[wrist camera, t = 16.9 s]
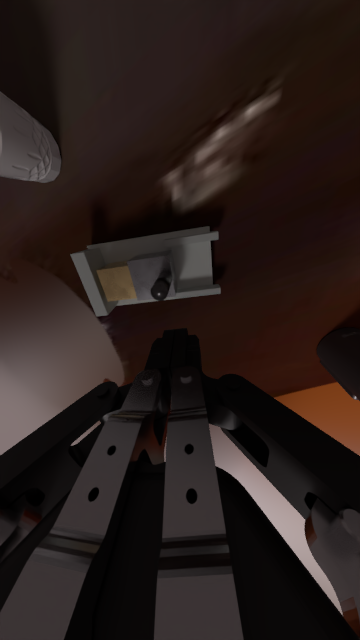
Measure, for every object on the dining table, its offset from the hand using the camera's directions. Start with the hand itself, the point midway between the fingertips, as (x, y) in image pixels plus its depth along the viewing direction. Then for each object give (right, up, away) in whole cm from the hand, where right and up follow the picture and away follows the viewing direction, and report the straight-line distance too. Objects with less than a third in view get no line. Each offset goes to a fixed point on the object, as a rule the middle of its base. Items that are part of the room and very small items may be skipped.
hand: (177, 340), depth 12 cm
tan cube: (-9, +9, +19) cm, 23 cm away
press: (-4, +11, +20) cm, 23 cm away
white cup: (-20, +25, +13) cm, 34 cm away
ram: (-4, +10, +18) cm, 21 cm away
